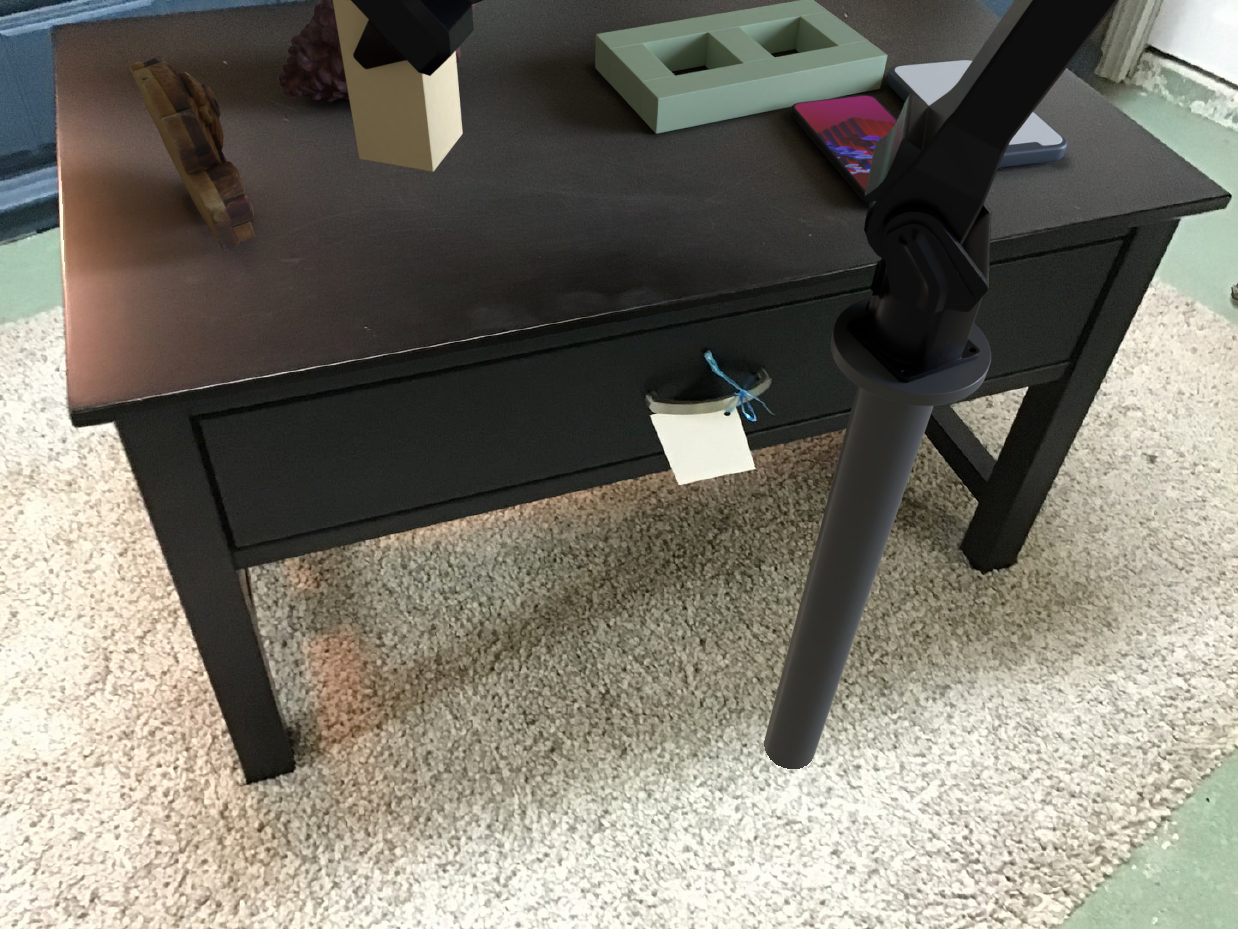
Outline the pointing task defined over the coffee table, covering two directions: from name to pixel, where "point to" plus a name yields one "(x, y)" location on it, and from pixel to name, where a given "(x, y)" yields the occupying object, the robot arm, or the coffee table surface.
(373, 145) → the cream rectangular block
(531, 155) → the coffee table surface
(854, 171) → the smartphone
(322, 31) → the pine cone
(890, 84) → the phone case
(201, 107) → the wooden carving
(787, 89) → the block
